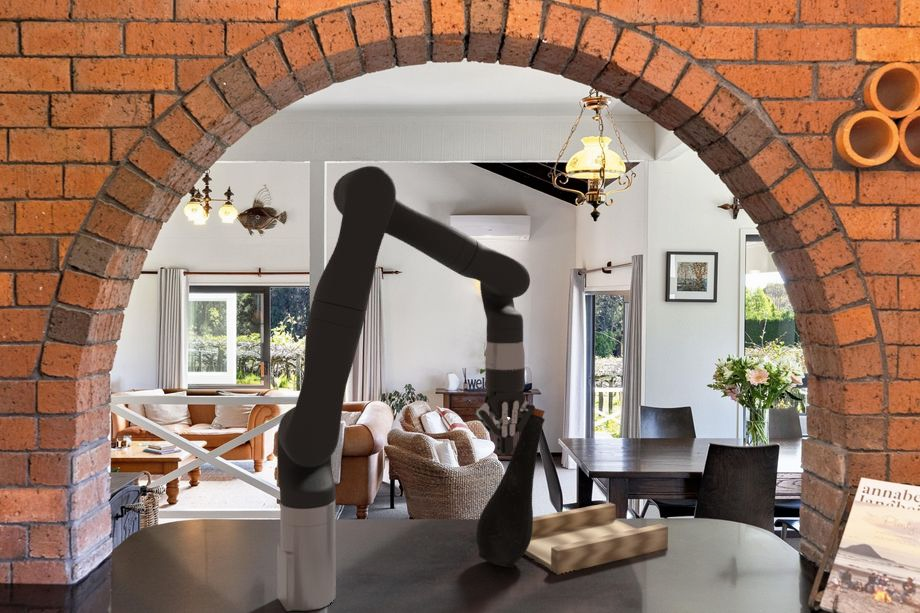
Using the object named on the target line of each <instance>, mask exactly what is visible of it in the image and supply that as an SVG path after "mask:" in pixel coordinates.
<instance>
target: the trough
mask: <svg viewBox="0 0 920 613" xmlns="http://www.w3.org/2000/svg"><path fill="white" fill-rule="evenodd" d="M616 510H617V505H616V504H615V503H612V502H607V503H606V502H605V503H600V504H597V505H596V504H595V505H594V504H593V505H590V506H585V507H581V508H574V509H569V510H564V511H558V512H553V513H549V514H543V515H538V516H533V530H532V536H531V541H530V544H529V546H528V548H527V550H526V551H525V553H524V554H526V555H527V556H529V557H530V558H532V559H534V560H536V561H537V562H539V563H540V564H542V565H544V566H545V567H547V568H549V569H550V570H551V571H550V570H549V569H548V570H549V571H550V572H552V571H553V572H552V573H554V574H555V573H556V575H562V574H561V573H563V574H566V573H565V572H567V573H570V572H569V571H571V572H574V571H573V570H575V571H578V570H583V569H586V568H591V567H594V566H601V565H603V564H607V563H611V562H612V563H613V562H617V561H619V560H621V561H622V560H624V559H628V558H633V557H636V556H641V555H644V554H649V553H654V552H658V551H662V550H666V549H668V548H669V547H668V546H669V541H668V540H669V526H668V525H665V524H663V523H658V524H653V525H648V526H644V527H639V528H636V527H633V526H631V525H629V524H627V523H625V522H622V521H620V520H617V517H616V514H617V512H616ZM527 556H526V557H527ZM529 557H528V558H529ZM530 558H529V559H530ZM532 559H531V560H532ZM534 560H533V561H534ZM537 562H536V563H537ZM539 563H538V564H539ZM540 564H539V565H540ZM542 565H541V566H542ZM544 566H543V567H544ZM545 567H544V568H545ZM547 568H546V569H547ZM582 568H583V569H582Z"/></svg>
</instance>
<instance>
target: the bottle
mask: <svg viewBox="0 0 920 613" xmlns="http://www.w3.org/2000/svg"><path fill="white" fill-rule="evenodd" d="M545 412H546V411H545V410H543V409H539V408H536V407H535V410H534V412H533V413H532V415H531V416H530V418H529V420H528V421H527V423H526V425H525V426H524V428H523V430H522V431H521V432H519V433H520V434H519V437H518V440H517V443H516V445H515V447H514V449H513V451H512V452H513V453H512V454H511V458H510V460H509V463H508V465H507V467H506V470H505V472H504V474H503V475H502V478H501V480H500V482H499V483H498V485H497V488H496V489H495V491H494V492H493V494H492V495H491V497H490V498H489V499H488V501H487V503H486V505H485V506H484V508H483V510H482V512H481V513H480V516H479V519H478V523H477V526H476V534H475V535H476V544H477V547H478V556H479V557H480V559H482V560H484V561H487V562H489V563H491V564H493V565H498V566H501V567H504V568H505V567H506V568H514V567H515V565H516V563H518V561H519V560H520V559H521V558H522V557H523V556H525V555H524V553H525V551H526V550H527V548H528V546H529V544H530V541H531V536H532V530H533V517H534V511H533V510H534V509H533V490H534V487H533V486H534V476H535V472H536V470H535V469H536V463H537V456H538V450H539V449H538V448H539V446H540V445H539V444H540V441H541V440H540V439H541V435H542V431H543V426H544V423H545V418H544V414H545Z"/></svg>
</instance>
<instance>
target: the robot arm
mask: <svg viewBox="0 0 920 613" xmlns="http://www.w3.org/2000/svg"><path fill="white" fill-rule="evenodd" d="M396 189H397V188H396V186H395V183H394V180H393V178H392V176H391V175H390V174H389V173H388V172H387V171H386V170H385V169H383V168H381V167H378V166H374V165H369V166H368V165H367V166H362V167H359V168H356V169H353V170H351V171H349V172H347V173H345V174H344V175H342V176H341V177H340V178H339V179H338V180H337V181H336V183H335V185H334V188H333V193H332V195H333V202H334V203H333V204H334V205H335V207H336V209H337V211H338V212H339V213H340V214H341V216H342V217H341V222H340V229H339V234H338V237H337V241H336V245H335V247H334V249H333V251H332V254H331V256H330V258H329V260H328V261H327V263H326V266H325V268H324V270H323V271H322V273H321V276H320V278H319V280H318V283H317V285H316V288H315V291H314V294H313V298H312V302H311V306H310V311H309V315H308V318H307V324H306V330H305V331H306V332H305V339H304V340H305V342H304V344H305V345H304V365H303V366H304V367H303V369H304V370H303V378H302V383H301V387H300V390H299V394H298V397H297V401H296V404H295V406H294V407H292V408H290V409H288V411H287V412H286V413H285V414H284V415H283V416H282V417H281V420H280V422H279V423H278V424H279V425H278V427H277V476H278V486H279V499H280V505H279V507H280V508H279V510H280V527H279V528H280V542H278V544H277V546H276V554H277V555H276V563H277V564H276V570H277V571H276V572H277V576H276V577H277V578H276V582H277V589H276V590H277V592H276V593H277V599H278V601H279V602H280V604H281V605H282V606H283V608H284V609H285V611H286V612H291V611H302V612H303V611H314V610H318V609H323V608H324V607H327V606H329V605H330V603H331V602H332V603H333V602H334V601H335V600H334V599H336V589H337V587H336V586H337V585H336V584H337V583H336V484H335V483H336V482H335V479H334V474H333V467H332V465H333V464H332V455H333V454H334V452H335V450H336V449H337V446H338V443H339V438H340V431H341V422H342V415H343V407H344V402H345V400H344V399H345V393H346V389H347V384H348V380H349V378H350V374H351V371H352V369H353V368H352V367H353V364H354V361H355V356H356V354H357V350H358V349H357V348H358V346H359V342H360V339H361V334H362V331H363V326H364V324H365V319H366V314H367V311H368V310H367V309H368V305H369V298H370V294H371V292H372V291H371V290H372V287H373V282H374V276H375V270H376V267H377V266H376V264H377V260H378V256H379V253H380V252H379V251H380V247H381V245H382V242H383V239H384V236H385V234H386V235H389V236H391V237H393V238H395V239H396V240H399V241H401V242H403V243H405V244H406V245H409V247H412V248H414V249H415V250H417V251H419V252H421V253H422V254H424V255H426V256H428V257H429V258H431V259H433V260H434V261H436V262H437V263H439V264H440V265H443V266H444V267H447V268H448V269H449V270H451V271H453V272H454V273H456V274H459V275H460V276H461V277H465V278H468V279H473V280H477V281H478V282H480V284H479V285H480V286H479V289H480V296H481V300H482V301H481V302H482V305H483V310H484V311H483V312H484V313H485V316H486V317H485V319H486V346H485V354H484V356H485V357H484V358H485V360H484V364H485V366H484V367H485V370H484V371H485V372H484V374H485V377H484V380H485V386H484V387H485V391H486V393H485V394H486V395H485V398H484V403H483V404H482V405H481V406H480V407H479V408H477V407H476V408H475V409H474V410H473V414H474V415H475V416H476V417H477V419H478V420H479V422H480V423H481V424H482V425H483V427H484V428H485V430H486V431H487V432H488V433H489V434H493V435H495V436H496V451H497V452H498V455H500V456H502V457H507V456H512V452H514V436H515V434H517V433H521V431H522V430H523V428H524V426H525V425H526V423H527V421H528V420H529V418H530V416H531V415H532V413H533V412H534V410H535V408H536V406H535V405H534V404H531V403H530V402H528V401H527V400H526V395H525V393H524V390H525V387H526V386H525V383H526V379H525V377H526V376H525V373H526V372H525V365H526V364H525V363H526V362H525V359H526V357H525V346H524V318H523V315H522V313H520V312H519V311H518V310H517V309H516V308H515V302H514V299H516V298H518V297H521V296H523V295H524V294H526V292H527V291H528V289H529V287H530V285H531V277H530V273H529V271H528V269H527V268H526V266H524V264H522V263H521V262H520V261H519V260H516V259H515V258H514V257H511V256H510V255H507V254H505V253H502V252H500V251H497V250H496V249H493V248H490V247H488V246H486V245H484V244H482V243H481V242H480V241H478V240H476V239H475V238H474V237H472V236H470V235H468V234H467V233H465V232H464V231H461V230H460V229H459V228H456V227H455V226H453V225H450V224H448V223H446V222H443V221H441V220H439V219H436V218H433V217H431V216H428V215H426V214H425V213H421V212H420V211H418V210H415V209H414V208H411V207H410V206H408V205H406V204H404V203H403V202H402V201H400V200H398V199H397V191H396ZM491 415H492V418H491V417H490V416H491ZM333 600H334V601H333ZM332 603H331V604H332Z"/></svg>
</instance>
